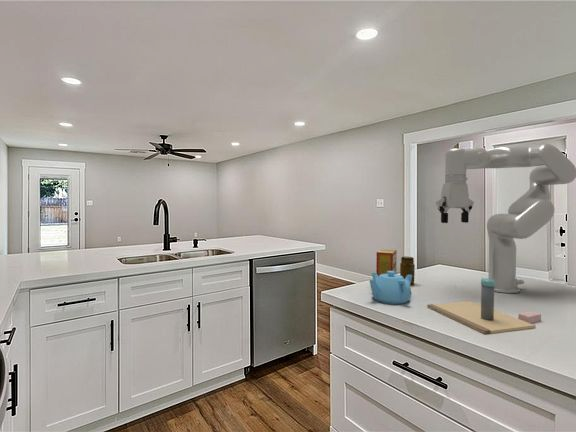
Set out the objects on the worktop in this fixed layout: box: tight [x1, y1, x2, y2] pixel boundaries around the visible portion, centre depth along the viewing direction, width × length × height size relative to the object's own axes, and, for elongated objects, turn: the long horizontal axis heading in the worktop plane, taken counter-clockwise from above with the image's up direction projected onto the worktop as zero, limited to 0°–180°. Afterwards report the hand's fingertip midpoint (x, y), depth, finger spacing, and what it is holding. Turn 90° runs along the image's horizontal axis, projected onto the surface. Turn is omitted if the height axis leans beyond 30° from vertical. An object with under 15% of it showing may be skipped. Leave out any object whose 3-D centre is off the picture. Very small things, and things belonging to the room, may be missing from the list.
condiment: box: [399, 256, 422, 287], centre depth 146 cm, size 7×8×12 cm
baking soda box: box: [375, 248, 398, 276], centre depth 141 cm, size 10×6×16 cm
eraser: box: [517, 310, 542, 324], centre depth 101 cm, size 6×3×2 cm, turn 113°
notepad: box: [426, 300, 536, 335], centre depth 104 cm, size 18×24×1 cm
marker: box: [480, 278, 495, 321], centre depth 100 cm, size 4×4×12 cm
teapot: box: [369, 271, 412, 305], centre depth 123 cm, size 15×15×11 cm
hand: (454, 222), depth 132 cm, fingers open, 9 cm apart
